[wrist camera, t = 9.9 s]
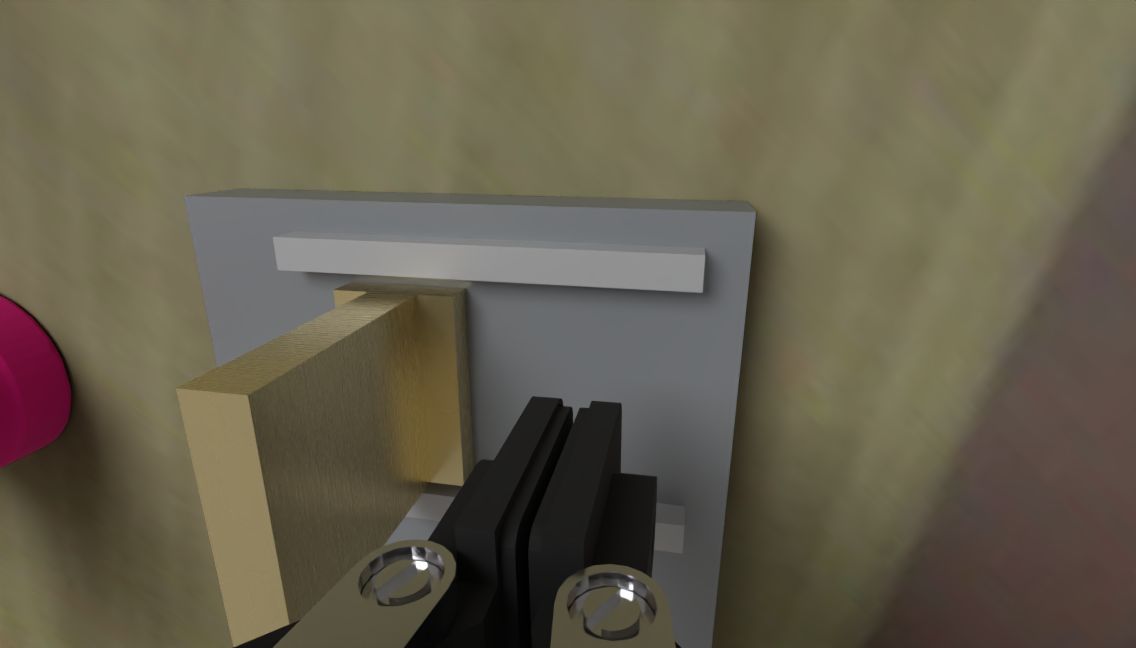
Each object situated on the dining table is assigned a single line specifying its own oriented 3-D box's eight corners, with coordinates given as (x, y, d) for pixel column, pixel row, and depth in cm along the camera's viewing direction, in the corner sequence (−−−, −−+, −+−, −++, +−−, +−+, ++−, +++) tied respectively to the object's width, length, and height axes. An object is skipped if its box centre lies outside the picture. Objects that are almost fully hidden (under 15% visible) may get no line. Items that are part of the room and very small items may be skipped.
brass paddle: (474, 469, 16) (344, 672, 10) (371, 457, 16) (190, 643, 10) (465, 287, 14) (303, 400, 8) (351, 282, 15) (123, 383, 9)
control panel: (678, 913, 23) (676, 1014, 20) (346, 832, 25) (307, 912, 23) (747, 201, 14) (759, 217, 12) (239, 188, 17) (157, 199, 14)
